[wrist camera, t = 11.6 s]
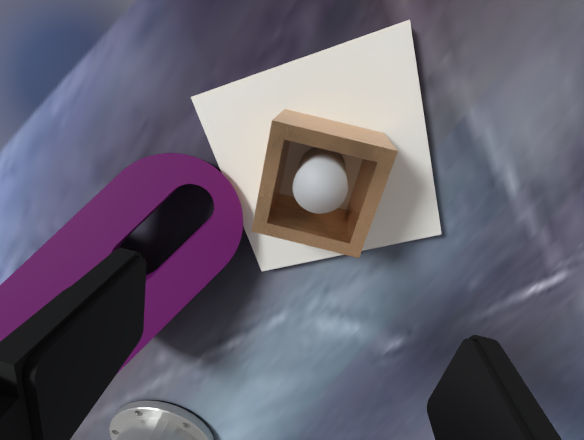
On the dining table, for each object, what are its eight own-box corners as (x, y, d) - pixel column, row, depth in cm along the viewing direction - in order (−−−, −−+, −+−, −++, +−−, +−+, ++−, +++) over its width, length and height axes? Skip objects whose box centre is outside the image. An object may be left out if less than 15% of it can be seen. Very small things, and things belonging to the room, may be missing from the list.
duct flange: (437, 228, 25) (461, 264, 20) (264, 264, 28) (250, 303, 23) (406, 21, 19) (428, 8, 15) (196, 95, 22) (162, 103, 18)
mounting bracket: (185, 138, 30) (36, 278, 29) (173, 123, 22) (-37, 318, 21) (257, 211, 32) (121, 343, 31) (270, 222, 24) (87, 403, 23)
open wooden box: (384, 132, 21) (397, 151, 17) (354, 222, 24) (359, 258, 20) (284, 108, 21) (271, 120, 17) (266, 200, 24) (251, 231, 20)
